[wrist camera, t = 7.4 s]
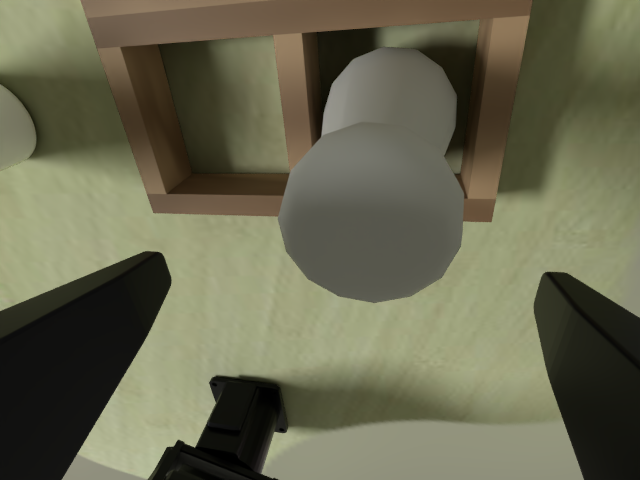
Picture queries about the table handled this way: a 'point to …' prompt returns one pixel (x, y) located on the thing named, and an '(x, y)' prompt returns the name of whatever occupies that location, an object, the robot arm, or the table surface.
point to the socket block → (291, 87)
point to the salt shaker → (378, 182)
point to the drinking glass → (14, 130)
